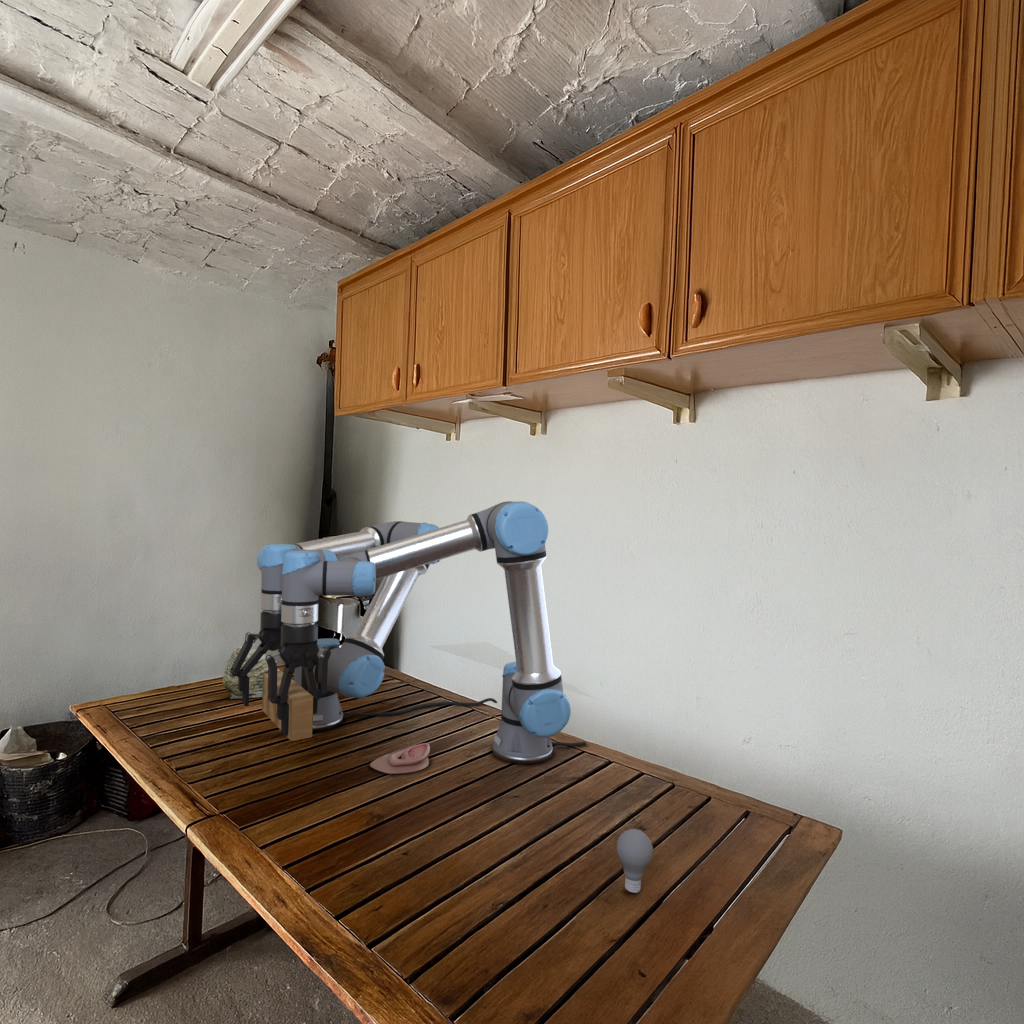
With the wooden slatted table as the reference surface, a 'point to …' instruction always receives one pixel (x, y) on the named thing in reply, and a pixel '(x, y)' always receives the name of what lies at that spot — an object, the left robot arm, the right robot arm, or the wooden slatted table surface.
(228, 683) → the fossil
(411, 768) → the anatomical model
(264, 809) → the wooden slatted table surface
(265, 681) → the bar
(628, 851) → the light bulb
